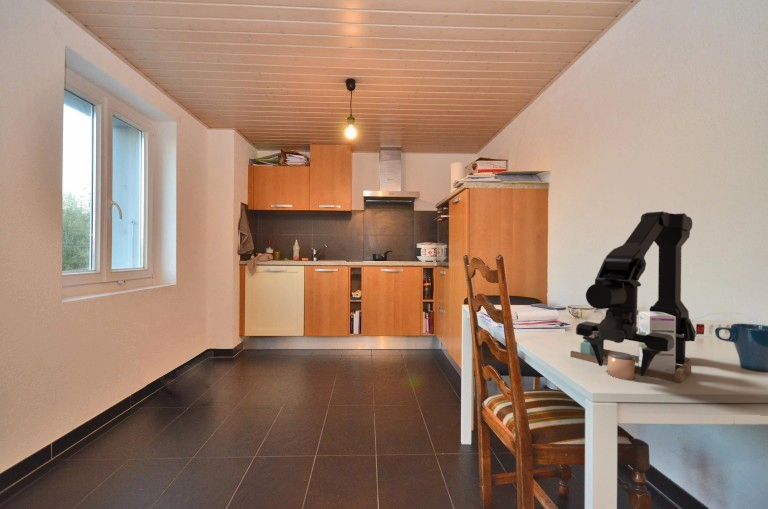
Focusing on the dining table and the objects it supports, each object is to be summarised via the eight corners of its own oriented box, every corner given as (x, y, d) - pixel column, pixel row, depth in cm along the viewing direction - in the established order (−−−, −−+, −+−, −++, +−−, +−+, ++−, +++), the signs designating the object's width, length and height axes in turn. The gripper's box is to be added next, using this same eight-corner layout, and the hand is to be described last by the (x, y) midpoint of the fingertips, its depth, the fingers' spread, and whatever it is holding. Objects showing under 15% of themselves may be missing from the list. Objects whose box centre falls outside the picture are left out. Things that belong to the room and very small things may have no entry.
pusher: (592, 351, 102) (592, 336, 102) (601, 353, 100) (601, 337, 100) (580, 356, 97) (580, 340, 97) (589, 359, 95) (589, 342, 95)
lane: (586, 350, 104) (586, 341, 104) (691, 373, 86) (691, 363, 86) (570, 356, 98) (570, 347, 98) (680, 383, 79) (680, 372, 79)
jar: (612, 370, 88) (612, 350, 88) (637, 376, 83) (638, 355, 83) (603, 374, 84) (604, 353, 84) (629, 381, 80) (630, 359, 80)
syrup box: (676, 376, 84) (678, 316, 83) (648, 374, 85) (649, 314, 85) (662, 368, 89) (664, 311, 89) (636, 366, 90) (638, 310, 90)
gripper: (566, 303, 86) (565, 366, 86) (660, 316, 71) (658, 392, 72) (586, 299, 93) (584, 358, 93) (675, 310, 78) (673, 379, 78)
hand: (620, 370), depth 84 cm, fingers open, 8 cm apart
